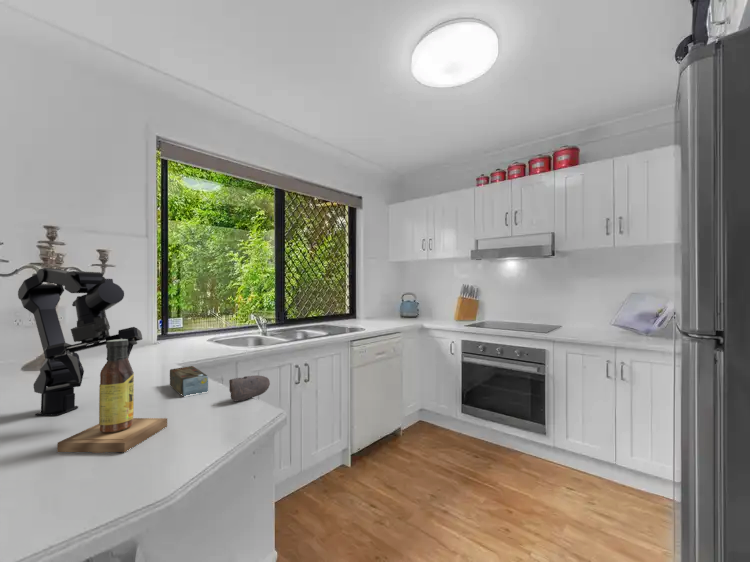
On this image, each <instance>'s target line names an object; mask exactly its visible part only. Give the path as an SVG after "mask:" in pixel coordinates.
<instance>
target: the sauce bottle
mask: <svg viewBox="0 0 750 562" xmlns="http://www.w3.org/2000/svg"><path fill="white" fill-rule="evenodd" d="M105 341H106V340H105ZM127 346H128V339H118V340H109V341H106V345H105V347H106V358H105V359H106V362H105V364H104V365H103V367H102V368H101V370H100V374H99V377H100V378H99V379H100V380H99V383H100V384H99V389H98V391H99V397H98V401H99V403H98V407H99V409H98V410H99V411H98V416H99V417H98V419H99V420H98V424H99V425H100V431H101V432H103V433H112V432H117V431H122V430H125V429H127V428H129V427H130V426H131V425H132V423H133V420H132V419H133V418H134V400H135V399H134V397H135V394H134V391H135V386H134V385H135V383H134V382H135V373H134V370H133V367H132V365H131V363H130V360H129V358H128V356H127Z"/></svg>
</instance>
